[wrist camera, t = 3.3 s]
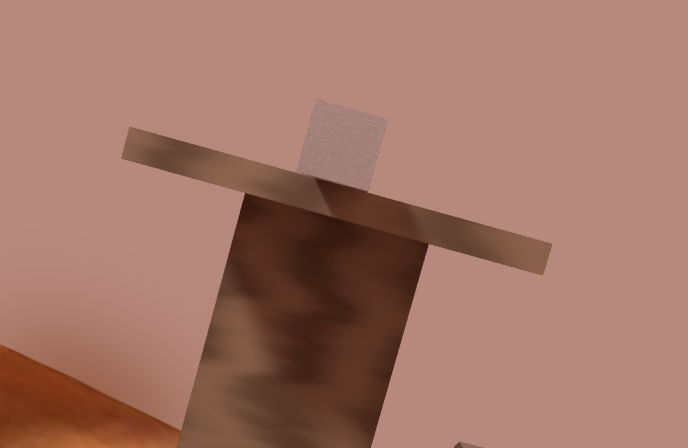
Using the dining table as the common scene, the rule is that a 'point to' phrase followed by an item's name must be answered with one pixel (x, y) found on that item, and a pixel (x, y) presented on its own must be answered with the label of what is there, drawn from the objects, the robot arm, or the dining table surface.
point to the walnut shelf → (310, 300)
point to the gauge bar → (341, 145)
